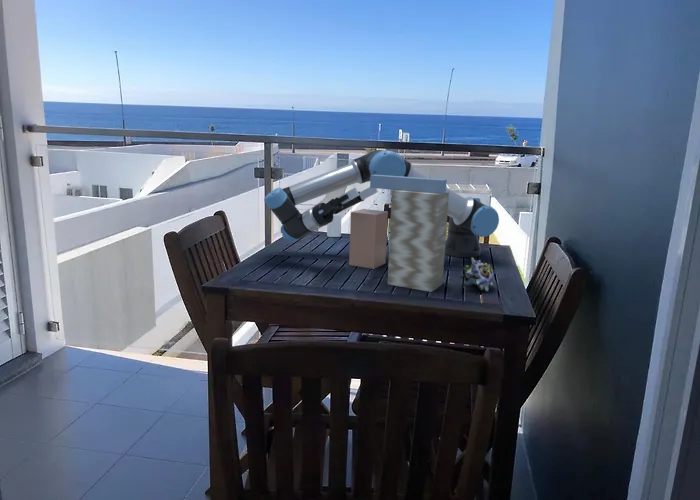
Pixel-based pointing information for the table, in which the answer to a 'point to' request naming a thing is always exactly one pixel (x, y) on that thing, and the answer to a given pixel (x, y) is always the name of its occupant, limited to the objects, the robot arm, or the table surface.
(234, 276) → the table surface
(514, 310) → the table surface
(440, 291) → the table surface
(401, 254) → the stand
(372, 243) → the block
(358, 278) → the table surface
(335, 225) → the can
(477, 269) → the passion flower
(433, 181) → the bar
